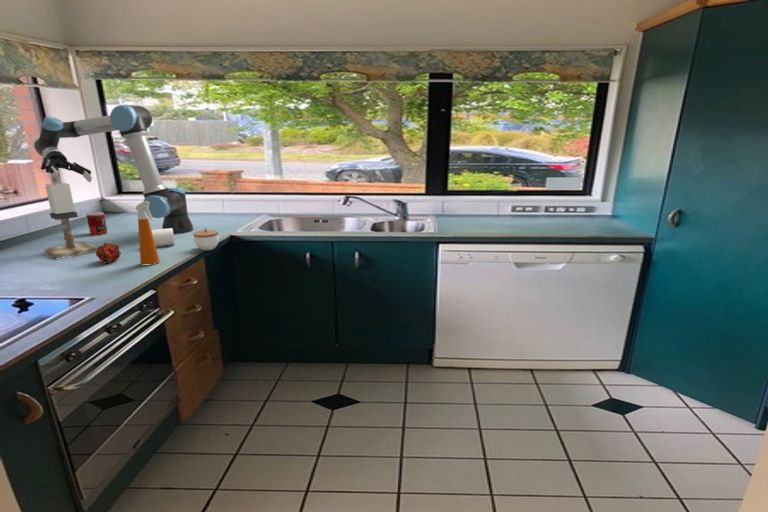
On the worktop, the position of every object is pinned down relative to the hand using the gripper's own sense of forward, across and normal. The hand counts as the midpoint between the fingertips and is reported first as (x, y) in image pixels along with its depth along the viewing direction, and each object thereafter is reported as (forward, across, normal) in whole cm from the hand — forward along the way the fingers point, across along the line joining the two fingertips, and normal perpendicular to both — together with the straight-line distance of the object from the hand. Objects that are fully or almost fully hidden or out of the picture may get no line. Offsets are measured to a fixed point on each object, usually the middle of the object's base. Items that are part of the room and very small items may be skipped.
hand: (74, 177), depth 203 cm
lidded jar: (+59, -33, -3) cm, 68 cm away
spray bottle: (+62, -7, -9) cm, 62 cm away
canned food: (-8, -22, -33) cm, 41 cm away
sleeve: (+11, +6, -12) cm, 17 cm away
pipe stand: (+18, +2, -29) cm, 34 cm away
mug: (+37, -27, -14) cm, 48 cm away
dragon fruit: (+45, 0, -18) cm, 48 cm away
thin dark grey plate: (+12, +5, -14) cm, 19 cm away
